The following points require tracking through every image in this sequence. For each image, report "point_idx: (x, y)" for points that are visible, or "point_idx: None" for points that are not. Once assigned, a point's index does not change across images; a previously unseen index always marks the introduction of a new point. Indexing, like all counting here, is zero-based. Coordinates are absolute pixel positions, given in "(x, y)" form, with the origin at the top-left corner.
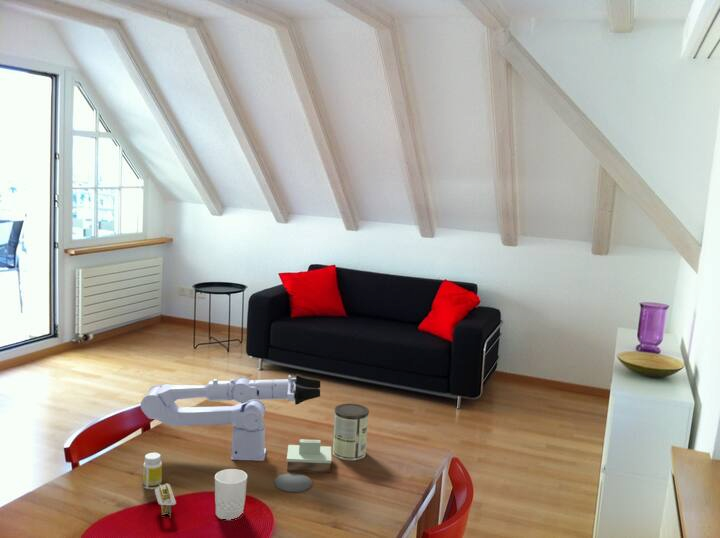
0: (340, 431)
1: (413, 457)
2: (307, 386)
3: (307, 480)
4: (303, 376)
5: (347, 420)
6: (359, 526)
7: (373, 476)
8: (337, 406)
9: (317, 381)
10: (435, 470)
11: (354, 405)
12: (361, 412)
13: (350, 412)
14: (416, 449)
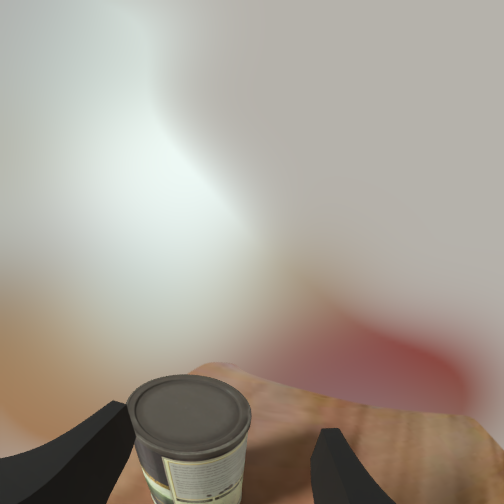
0: (228, 480)
1: None
2: (93, 498)
3: None
4: (9, 460)
5: (244, 440)
6: (489, 447)
7: None
8: (143, 437)
9: (117, 419)
10: (277, 383)
11: (146, 393)
12: (214, 392)
13: (211, 417)
14: None
